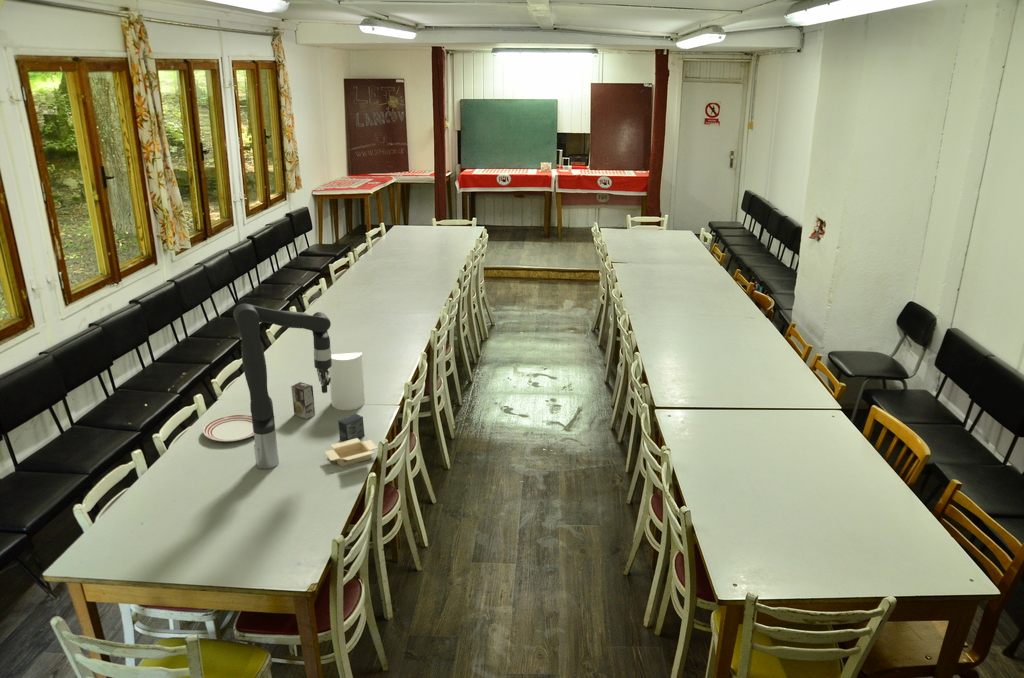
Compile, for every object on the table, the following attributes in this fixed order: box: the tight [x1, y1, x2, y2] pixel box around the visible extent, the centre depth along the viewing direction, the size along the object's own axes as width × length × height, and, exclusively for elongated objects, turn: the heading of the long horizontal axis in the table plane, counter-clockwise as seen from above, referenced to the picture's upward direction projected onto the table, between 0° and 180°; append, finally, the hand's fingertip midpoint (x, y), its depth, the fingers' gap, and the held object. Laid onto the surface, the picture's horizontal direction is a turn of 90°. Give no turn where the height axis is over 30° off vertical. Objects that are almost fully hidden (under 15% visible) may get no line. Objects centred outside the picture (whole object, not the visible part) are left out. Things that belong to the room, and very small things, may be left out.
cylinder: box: [328, 352, 366, 411], centre depth 394 cm, size 17×17×28 cm
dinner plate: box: [202, 413, 254, 443], centre depth 367 cm, size 27×27×3 cm
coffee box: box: [290, 381, 316, 420], centre depth 383 cm, size 9×6×16 cm
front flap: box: [342, 450, 377, 460], centre depth 337 cm, size 13×1×9 cm
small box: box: [337, 413, 365, 442], centre depth 363 cm, size 11×6×10 cm, turn 141°
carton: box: [323, 438, 379, 468], centre depth 348 cm, size 22×14×4 cm, turn 122°
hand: (324, 392), depth 343 cm, fingers closed
